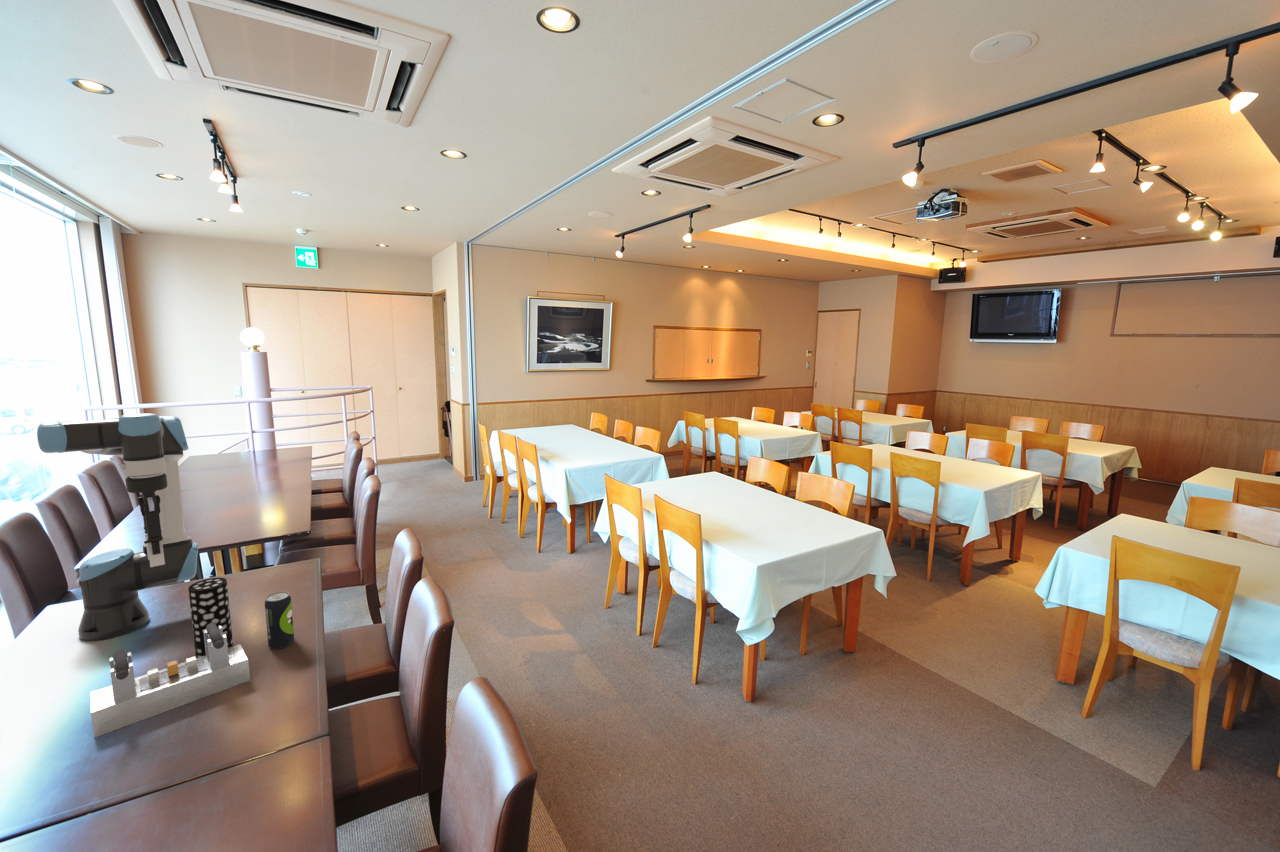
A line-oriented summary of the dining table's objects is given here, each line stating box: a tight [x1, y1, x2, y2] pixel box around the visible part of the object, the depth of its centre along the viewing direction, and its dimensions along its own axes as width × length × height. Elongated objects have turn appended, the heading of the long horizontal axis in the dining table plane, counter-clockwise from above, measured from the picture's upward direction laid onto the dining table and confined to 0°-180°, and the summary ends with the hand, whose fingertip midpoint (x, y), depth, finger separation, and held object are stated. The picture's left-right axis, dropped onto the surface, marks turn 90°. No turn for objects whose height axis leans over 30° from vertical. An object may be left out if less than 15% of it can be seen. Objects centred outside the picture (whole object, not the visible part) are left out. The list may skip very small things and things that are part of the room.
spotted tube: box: [188, 577, 234, 658], centre depth 146 cm, size 8×8×20 cm
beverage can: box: [264, 591, 295, 650], centre depth 149 cm, size 6×6×15 cm
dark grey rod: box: [206, 623, 224, 649], centre depth 131 cm, size 13×2×2 cm, turn 47°
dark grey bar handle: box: [113, 648, 129, 680], centre depth 119 cm, size 13×2×2 cm, turn 47°
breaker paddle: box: [166, 659, 179, 676], centre depth 126 cm, size 2×2×3 cm
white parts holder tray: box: [89, 626, 251, 738], centre depth 126 cm, size 10×28×13 cm, turn 137°
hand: (156, 561), depth 133 cm, fingers open, 6 cm apart
